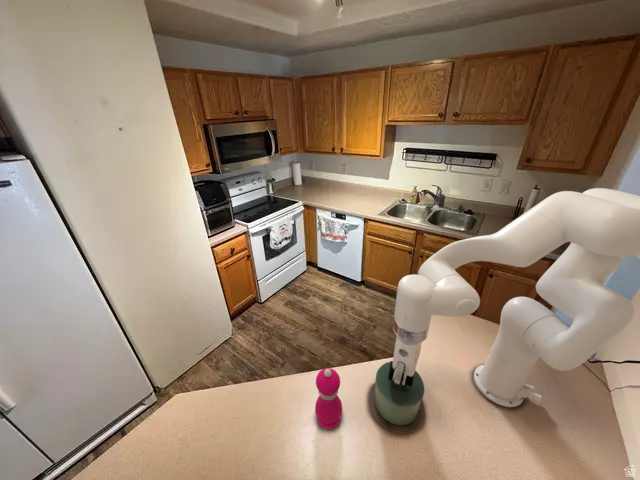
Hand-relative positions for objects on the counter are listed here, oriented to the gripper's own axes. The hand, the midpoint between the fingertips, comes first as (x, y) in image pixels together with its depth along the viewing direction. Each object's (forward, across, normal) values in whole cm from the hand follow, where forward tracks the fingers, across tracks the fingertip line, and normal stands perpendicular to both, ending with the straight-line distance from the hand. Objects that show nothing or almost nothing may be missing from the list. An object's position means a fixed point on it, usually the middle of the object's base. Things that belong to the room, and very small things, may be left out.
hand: (403, 372), depth 66 cm
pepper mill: (+14, -12, +16) cm, 24 cm away
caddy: (+13, 0, +1) cm, 13 cm away
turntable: (+14, 0, +1) cm, 14 cm away
